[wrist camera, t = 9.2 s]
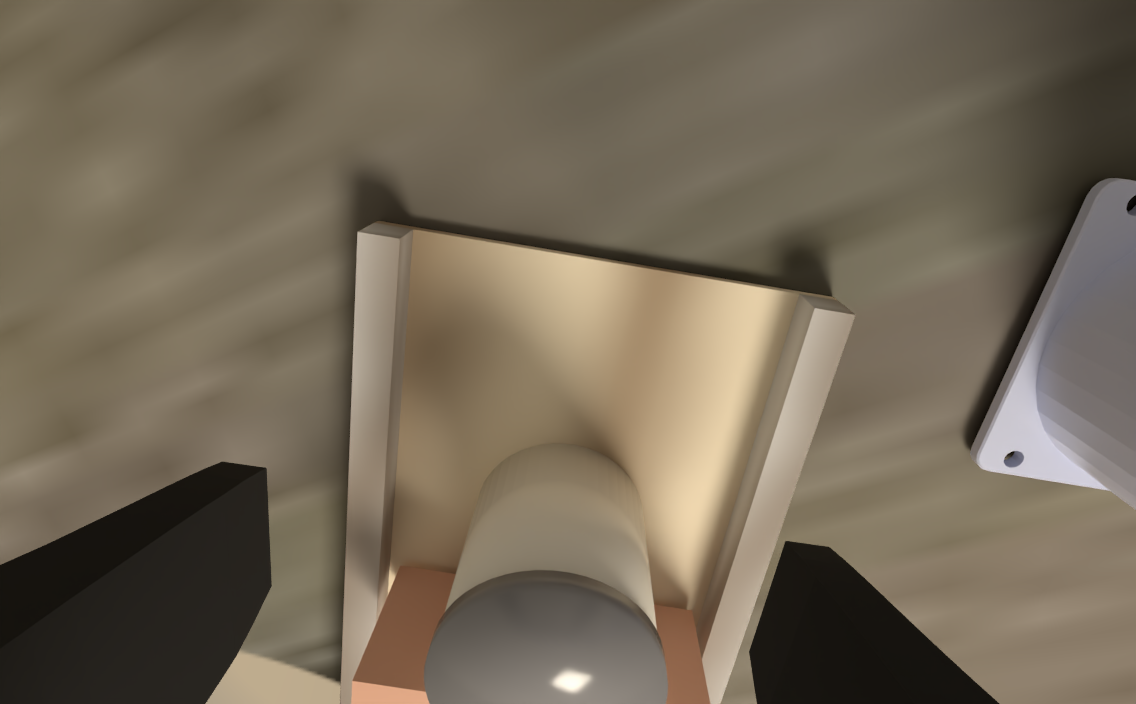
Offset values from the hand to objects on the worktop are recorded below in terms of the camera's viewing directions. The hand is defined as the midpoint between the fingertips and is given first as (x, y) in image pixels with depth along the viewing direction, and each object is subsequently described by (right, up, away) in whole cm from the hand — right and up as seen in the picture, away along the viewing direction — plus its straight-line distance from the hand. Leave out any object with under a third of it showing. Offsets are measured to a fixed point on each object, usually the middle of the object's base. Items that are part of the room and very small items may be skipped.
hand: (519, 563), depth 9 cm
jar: (0, -2, +10) cm, 10 cm away
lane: (0, -4, +11) cm, 12 cm away
